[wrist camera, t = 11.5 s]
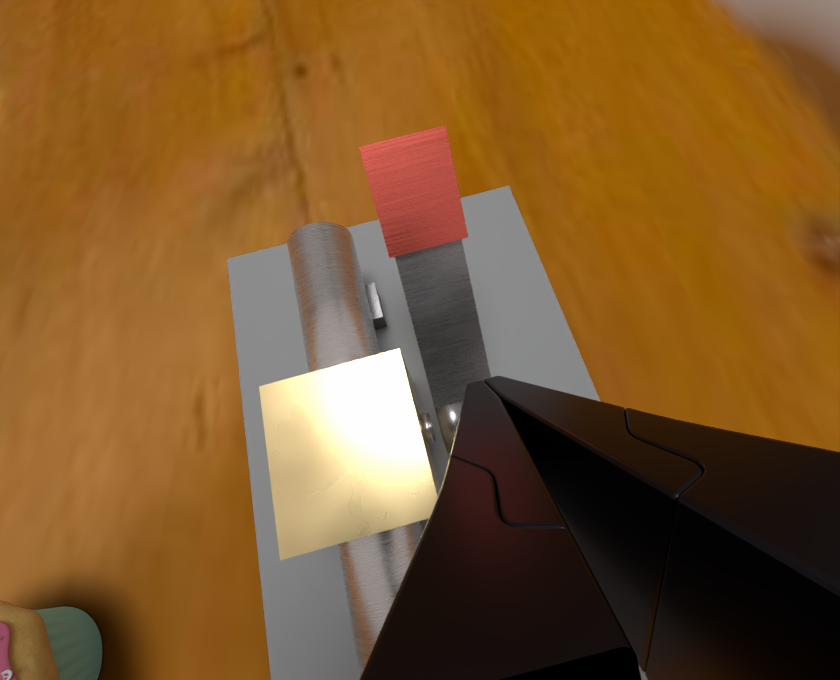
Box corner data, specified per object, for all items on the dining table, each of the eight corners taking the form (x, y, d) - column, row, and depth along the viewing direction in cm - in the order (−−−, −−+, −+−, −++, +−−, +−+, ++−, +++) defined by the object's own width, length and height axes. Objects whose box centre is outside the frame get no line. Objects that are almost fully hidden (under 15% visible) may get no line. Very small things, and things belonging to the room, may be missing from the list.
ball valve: (497, 667, 14) (536, 818, 8) (368, 705, 14) (319, 885, 8) (388, 261, 20) (368, 188, 14) (296, 285, 20) (238, 221, 14)
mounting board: (710, 683, 14) (725, 697, 14) (295, 809, 14) (287, 830, 13) (506, 194, 22) (508, 185, 21) (234, 265, 22) (227, 259, 21)
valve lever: (514, 447, 13) (447, 120, 10) (446, 467, 13) (358, 143, 10) (495, 419, 16) (436, 145, 13) (437, 435, 16) (363, 163, 13)
